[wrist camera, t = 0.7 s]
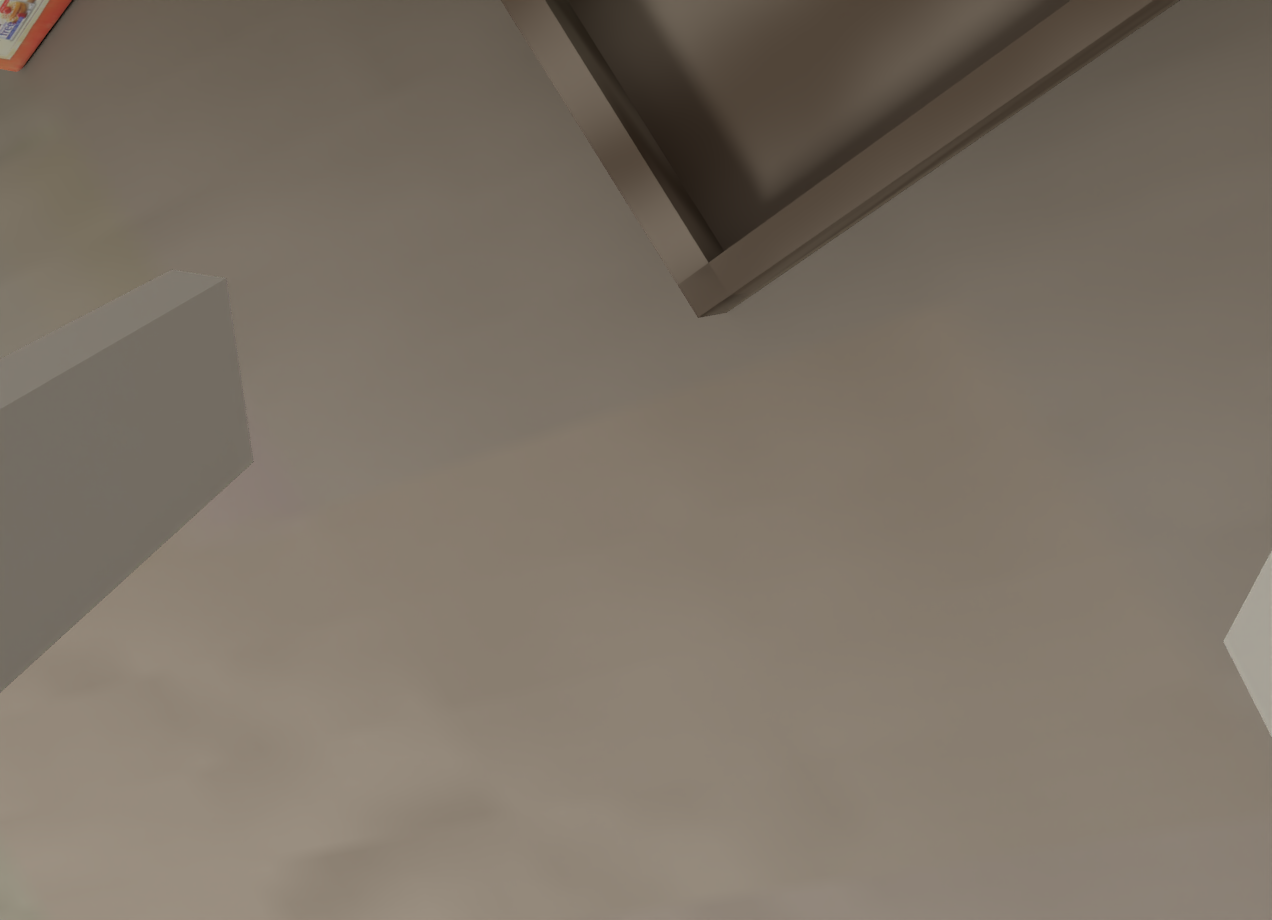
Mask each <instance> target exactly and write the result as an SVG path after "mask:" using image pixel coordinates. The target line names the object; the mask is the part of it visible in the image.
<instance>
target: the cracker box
mask: <svg viewBox="0 0 1272 920" xmlns="http://www.w3.org/2000/svg"><path fill="white" fill-rule="evenodd" d="M71 1H72V0H0V69H4V70H9V71H15V72H17V71H19V70H21V69H22V68H23V66H24V65H25V64H26V62H27V61H28V59H29V58H30V57H31V55H32V54H33V52H34V51H35V49H36V48H37V47H38V45H39V44H40V43H41V41H42V40H43V39H44V37H45V36H46V34H47V33H48V32H49V30H50V29H51V28H52V27H53V25H54V24H55V23H56V21H57V20H58V19H59V17H60V16H61V14H62V13H63V12H64V10H65V9H66V8H67V6H68V5H69V4H70V2H71Z"/></svg>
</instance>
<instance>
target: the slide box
mask: <svg viewBox="0 0 1272 920" xmlns="http://www.w3.org/2000/svg"><path fill="white" fill-rule="evenodd" d="M501 1H502V3H503V4H504V6H505V8H506V9H507V11H508V12H509V14H510V16H511V17H512V19H513V20H514V22H515V24H516V25H517V27H518V29H519V30H520V32H521V33H522V35H523V37H524V38H525V40H526V41H527V43H528V45H529V46H530V48H531V49H532V51H533V53H534V54H535V56H536V58H537V59H538V61H539V62H540V64H541V66H542V67H543V69H544V70H545V72H546V74H547V75H548V77H549V78H550V80H551V82H552V83H553V85H554V86H555V88H556V90H557V91H558V93H559V95H560V96H561V98H562V99H563V101H564V103H565V104H566V106H567V107H568V109H569V111H570V112H571V114H572V115H573V117H574V119H575V120H576V122H577V124H578V125H579V127H580V128H581V130H582V132H583V133H584V135H585V136H586V138H587V140H588V141H589V143H590V144H591V146H592V148H593V149H594V151H595V153H596V154H597V156H598V157H599V159H600V161H601V162H602V164H603V165H604V167H605V169H606V170H607V172H608V173H609V175H610V177H611V178H612V180H613V182H614V183H615V185H616V186H617V188H618V190H619V191H620V193H621V194H622V196H623V198H624V199H625V201H626V202H627V204H628V206H629V207H630V209H631V211H632V212H633V214H634V215H635V217H636V219H637V220H638V222H639V223H640V225H641V227H642V228H643V230H644V231H645V233H646V235H647V236H648V238H649V239H650V241H651V243H652V244H653V246H654V248H655V249H656V251H657V252H658V254H659V256H660V257H661V259H662V260H663V262H664V264H665V265H666V267H667V268H668V270H669V272H670V273H671V275H672V277H673V278H674V280H675V281H676V283H677V285H678V286H679V288H680V289H681V291H682V293H683V294H684V296H685V297H686V299H687V301H688V302H689V304H690V306H691V307H692V309H693V310H694V312H695V314H696V315H697V317H698V318H699V317H705V316H710V315H716V314H722V313H727V312H728V311H730V310H731V309H732V308H734V307H735V306H737V305H738V304H740V303H741V302H743V301H744V300H746V299H747V298H748V297H750V296H751V295H753V294H754V293H756V292H757V291H759V290H760V289H762V288H763V287H764V286H766V285H767V284H769V283H770V282H772V281H773V280H775V279H776V278H777V277H779V276H780V275H782V274H783V273H785V272H786V271H788V270H789V269H791V268H792V267H793V266H795V265H796V264H798V263H799V262H801V261H802V260H804V259H805V258H807V257H808V256H809V255H811V254H812V253H814V252H815V251H817V250H818V249H820V248H821V247H822V246H824V245H825V244H827V243H828V242H830V241H831V240H833V239H834V238H836V237H837V236H838V235H840V234H841V233H843V232H844V231H846V230H847V229H849V228H850V227H852V226H853V225H854V224H856V223H857V222H859V221H860V220H862V219H863V218H865V217H866V216H867V215H869V214H870V213H872V212H873V211H875V210H876V209H878V208H879V207H881V206H882V205H883V204H885V203H886V202H888V201H889V200H891V199H892V198H894V197H895V196H896V195H898V194H899V193H901V192H902V191H904V190H905V189H907V188H908V187H910V186H911V185H912V184H914V183H915V182H917V181H918V180H920V179H921V178H923V177H924V176H926V175H927V174H928V173H930V172H931V171H933V170H934V169H936V168H937V167H939V166H940V165H941V164H943V163H944V162H946V161H947V160H949V159H950V158H952V157H953V156H955V155H956V154H957V153H959V152H960V151H962V150H963V149H965V148H966V147H968V146H969V145H971V144H972V143H973V142H975V141H976V140H978V139H979V138H981V137H982V136H984V135H985V134H986V133H988V132H989V131H991V130H992V129H994V128H995V127H997V126H998V125H1000V124H1001V123H1002V122H1004V121H1005V120H1007V119H1008V118H1010V117H1011V116H1013V115H1014V114H1016V113H1017V112H1018V111H1020V110H1021V109H1023V108H1024V107H1026V106H1027V105H1029V104H1030V103H1031V102H1033V101H1034V100H1036V99H1037V98H1039V97H1040V96H1042V95H1043V94H1045V93H1046V92H1047V91H1049V90H1050V89H1052V88H1053V87H1055V86H1056V85H1058V84H1059V83H1061V82H1062V81H1063V80H1065V79H1066V78H1068V77H1069V76H1071V75H1072V74H1074V73H1075V72H1076V71H1078V70H1079V69H1081V68H1082V67H1084V66H1085V65H1087V64H1088V63H1090V62H1091V61H1092V60H1094V59H1095V58H1097V57H1098V56H1100V55H1101V54H1103V53H1104V52H1106V51H1107V50H1108V49H1110V48H1111V47H1113V46H1114V45H1116V44H1117V43H1119V42H1120V41H1121V40H1123V39H1124V38H1126V37H1127V36H1129V35H1130V34H1132V33H1133V32H1135V31H1136V30H1137V29H1139V28H1140V27H1142V26H1143V25H1145V24H1146V23H1148V22H1149V21H1151V20H1152V19H1153V18H1155V17H1156V16H1158V15H1159V14H1161V13H1162V12H1164V11H1165V10H1166V9H1168V8H1169V7H1171V6H1172V5H1174V4H1175V3H1177V2H1178V1H1180V0H501Z"/></svg>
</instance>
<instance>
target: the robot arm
mask: <svg viewBox="0 0 1272 920" xmlns="http://www.w3.org/2000/svg"><path fill="white" fill-rule="evenodd" d="M253 462H254V461H253V455H252V448H251V441H250V434H249V427H248V421H247V414H246V407H245V400H244V393H243V386H242V380H241V373H240V366H239V359H238V352H237V346H236V339H235V332H234V325H233V318H232V312H231V305H230V298H229V291H228V284H227V278H223V277H217V276H210V275H204V274H198V273H191V272H185V271H179V270H173V269H172V270H170V271H168V272H166V273H164V274H162V275H160V276H158V277H156V278H154V279H152V280H151V281H149V282H147V283H145V284H143V285H141V286H139V287H137V288H135V289H133V290H131V291H129V292H127V293H126V294H124V295H122V296H120V297H118V298H116V299H114V300H112V301H110V302H108V303H106V304H104V305H102V306H101V307H99V308H97V309H95V310H93V311H91V312H89V313H87V314H85V315H83V316H81V317H79V318H77V319H76V320H74V321H72V322H70V323H68V324H66V325H64V326H62V327H60V328H58V329H56V330H54V331H52V332H51V333H49V334H47V335H45V336H43V337H41V338H39V339H37V340H35V341H33V342H31V343H29V344H27V345H26V346H24V347H22V348H20V349H18V350H16V351H14V352H12V353H10V354H8V355H6V356H4V357H2V358H1V359H0V692H1V691H3V690H4V689H5V688H6V687H7V686H8V685H9V684H10V683H11V682H12V681H14V680H15V679H16V678H17V677H18V676H19V675H20V674H21V673H22V672H23V671H24V670H26V669H27V668H28V667H29V666H30V665H31V664H32V663H33V662H34V661H35V660H37V659H38V658H39V657H40V656H41V655H42V654H43V653H44V652H45V651H46V650H48V649H49V648H50V647H51V646H52V645H53V644H54V643H55V642H56V641H57V640H59V639H60V638H61V637H62V636H63V635H64V634H65V633H66V632H67V631H68V630H70V629H71V628H72V627H73V626H74V625H75V624H76V623H77V622H78V621H79V620H80V619H82V618H83V617H84V616H85V615H86V614H87V613H88V612H89V611H90V610H91V609H93V608H94V607H95V606H96V605H97V604H98V603H99V602H100V601H101V600H102V599H104V598H105V597H106V596H107V595H108V594H109V593H110V592H111V591H112V590H113V589H115V588H116V587H117V586H118V585H119V584H120V583H121V582H122V581H123V580H124V579H126V578H127V577H128V576H129V575H130V574H131V573H132V572H133V571H134V570H135V569H136V568H138V567H139V566H140V565H141V564H142V563H143V562H144V561H145V560H146V559H147V558H149V557H150V556H151V555H152V554H153V553H154V552H155V551H156V550H157V549H158V548H160V547H161V546H162V545H163V544H164V543H165V542H166V541H167V540H168V539H169V538H171V537H172V536H173V535H174V534H175V533H176V532H177V531H178V530H179V529H180V528H182V527H183V526H184V525H185V524H186V523H187V522H188V521H189V520H190V519H191V518H193V517H194V516H195V515H196V514H197V513H198V512H199V511H200V510H201V509H202V508H203V507H205V506H206V505H207V504H208V503H209V502H210V501H211V500H212V499H213V498H214V497H216V496H217V495H218V494H219V493H220V492H221V491H222V490H223V489H224V488H225V487H227V486H228V485H229V484H230V483H231V482H232V481H233V480H234V479H235V478H236V477H238V476H239V475H240V474H241V473H242V472H243V471H244V470H245V469H246V468H247V467H249V466H250V465H251V464H252V463H253ZM1223 642H1224V644H1225V646H1226V648H1227V650H1228V652H1229V654H1230V656H1231V658H1232V660H1233V662H1234V664H1235V666H1236V667H1237V669H1238V671H1239V673H1240V675H1241V677H1242V679H1243V681H1244V683H1245V685H1246V687H1247V689H1248V691H1249V693H1250V695H1251V697H1252V699H1253V701H1254V703H1255V705H1256V707H1257V709H1258V711H1259V713H1260V715H1261V717H1262V719H1263V721H1264V723H1265V725H1266V727H1267V729H1268V731H1269V733H1270V735H1271V737H1272V551H1271V553H1270V555H1269V557H1268V559H1267V561H1266V562H1265V564H1264V566H1263V568H1262V570H1261V572H1260V574H1259V576H1258V577H1257V579H1256V581H1255V583H1254V585H1253V587H1252V589H1251V591H1250V593H1249V594H1248V596H1247V598H1246V600H1245V602H1244V604H1243V606H1242V608H1241V609H1240V611H1239V613H1238V615H1237V617H1236V619H1235V621H1234V623H1233V625H1232V626H1231V628H1230V630H1229V632H1228V634H1227V636H1226V638H1225V640H1224V641H1223Z"/></svg>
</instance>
